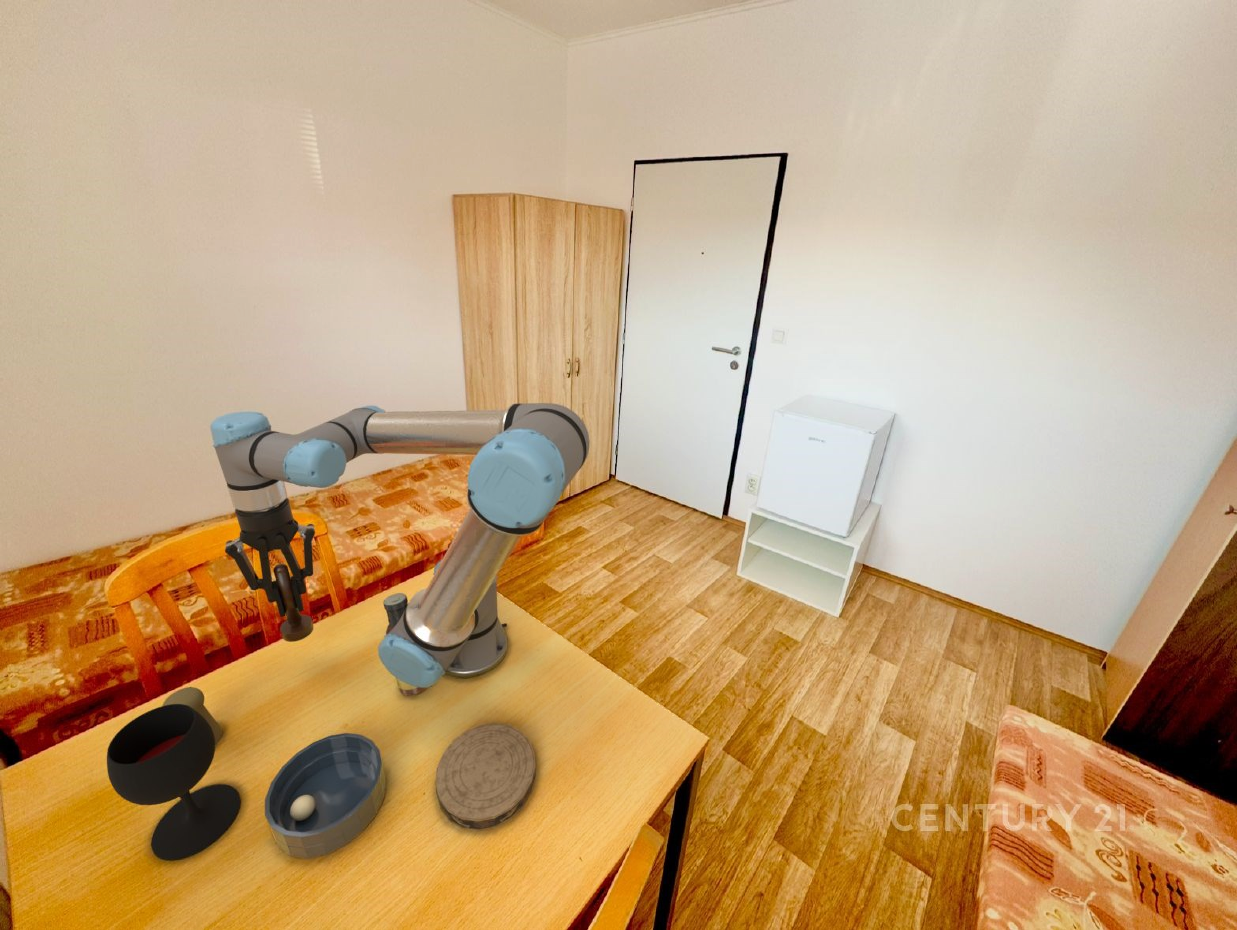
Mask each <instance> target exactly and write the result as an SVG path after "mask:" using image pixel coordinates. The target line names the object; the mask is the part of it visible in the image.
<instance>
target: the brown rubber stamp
mask: <svg viewBox="0 0 1237 930" xmlns="http://www.w3.org/2000/svg"><path fill="white" fill-rule="evenodd" d="M272 571H273V575H274V578H275V580H276V582H277V585H278V588H279V592H280V595H281V599H282V602H283V606H284V609H285V617H286V620H285V621H284V622H282V623H281V625H280V626H279V627H280V628H279V630H280V634H281V637H282V640H284V642H289V643H293V642H294V643H295V642H299V641H301V640H303V639H306V638H307V637H309V636H310V635H311V634H312V633H313V631H314V628H315V627H314V622H313V619H312V617H311V616H310V615H308V614H301V612H299V611H298V607H297V603H296V600H295V596H294V593H293V589H292V585H291V574H290V573H291V572H290V569H289V566H288V564H286V563H277V564H276V565H274V567H273V570H272Z"/></svg>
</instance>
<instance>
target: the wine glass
mask: <svg viewBox="0 0 1237 930" xmlns="http://www.w3.org/2000/svg"><path fill="white" fill-rule="evenodd" d="M215 753H216V745H215V737H214V733H213V730H212V728H211V726H210V725H209V723H208V722H207V720H206V719H205V718H204V717H203V716H202V715H201V714H200V713H198V712H197V711H196V710H194V709H193V708H192V707H190V706H188V705H184V704H170V705H165V706H159V707H155V708H153V709H150V710H148V711H146V712H144V713H142V714H140V715H138V716H136V717H135V718H134V719H132V720H131V721H129V722H128V723H126V724H125V725H124V726H123V727H122V728H121V729H120V730H119V731H118V732H117V733H116V734H115V735H114V737H113V738H112V739H111V741H110V743H109V744H108V747H107V751H106V768H107V776H108V779H109V782H110V784H111V786H112V788H113V790H114V791H115V792H116V793H117V794H118V795H119V797H121V798H122V799H124V801H127V802H129V803H131V804H134V805H139V806H156V805H161V804H165V803H168V802H171V801H174V800H176V799H178V798H179V799H180V800H179V801H178V802H176V803H175V804H173V805H172V806H171V807H170V808H169V809H168V810H167V812H166V813H165V814H164V815H163V816H162V817H161V818H160V820H159V821H158V823H157V825H156V827H155V828H154V830H153V832H152V836H151V841H150V846H151V850H152V852H153V854H154V855H155V856H156V858H158V859H160V860H162V861H166V862H167V861H169V862H171V861H172V862H175V861H180V860H184V859H188V858H190V857H192V856H195V855H197V854H199V853H201V852H203V851H205V850H206V849H208V848H209V847H211V846H212V845H213V844H214V843H215V842H217V841H218V840H219V839H220V838H221V837H222V836H223V835H224V834H225V833H226V832H227V831H228V830H229V829H230V828H231V826H232V824H233V823H234V822H235V820H236V819H237V817H238V815H239V812H240V808H241V804H242V803H241V802H242V801H241V795H240V793H239V792H238V790H237V789H236V788H235V787H234V786H232V785H230V784H225V783H218V784H217V783H216V784H211V785H206V786H204V787H201V788H199V789H196V790H194V791H193V792H191V790H192V789H193V788H194V787H195V786H196V785H198V783H199V782H200V781H201V780H202V779H203V778H204V776H205V775H206V774H207V772H208V770H209V769H210V767H211V765H212V763H213V760H214V757H215Z"/></svg>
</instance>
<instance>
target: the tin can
mask: <svg viewBox="0 0 1237 930" xmlns="http://www.w3.org/2000/svg"><path fill="white" fill-rule="evenodd" d="M535 757H536V756H535V749H534V748H533V746H532V744H531V741H530V739H529V738H528V737H527V735H525V734H524V733H523V732H522V731H521V730H520V729H518V728H517V727H515V726H512V725H510V724H508V723H499V722H489V723H483V724H478V725H476V726H473V727H471V728H469V729H467V730H465V731H464V732H462V733H461V734H460V735H459V736H457V737H456V738H455V739H453V740H452V742H451V743H450V744H449V745H448V746H447V748H446V749H445V750H444V752H442V755H441V757H440V760H439V762H438V764H437V767H436V772H435V773H436V774H435V784H434V785H435V791H436V798H437V800H438V805H439V809H440V810H441V812H442V814H444V816H445V817H446V819H447V820H448V821H449V822H450V823H452V824H454V825H455V826H457V827H459V828H461V829H463V830H470V831H478V832H480V831H484V830H489V829H494V828H497V827H499V826H500V825H502V824H504V823H506V822H508V821H510V820H511V819H513V818H514V817H515V816H516V815H517V813H518V812H519V811H521V810H522V809H523V808H524V807H525V805H526V803H527V801H528V799H529V797H530V796H531V794H532V792H533V788H534V784H535V781H536V758H535Z"/></svg>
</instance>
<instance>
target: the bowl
mask: <svg viewBox="0 0 1237 930" xmlns="http://www.w3.org/2000/svg"><path fill="white" fill-rule="evenodd" d="M269 784H270V785H269V787H268V790H267V793H266V795H265V798H264V816H265V817H264V818H265V819H266V821H267V824H268V826H269V829H270V832H271V835H272V837H273V839H274V840H275V841H274V842H275V843H276V844H277V846H278V849H279V850H281V852H283V853H285V854H287V855H289V856H291V857H294V858H303V859H312V858H317V857H322V856H326V855H329V854H331V853H333V852H335V851H338V850H339V849H341V848H344V847H345V846H347V845H348V844H350V842H351V841H353V840H354V839H356V837H358V836H359V835H360V834H362V832H364V831H365V829H367V827H368V826H369V824H370V823H371V822H372V821H373V820H374V818H375V817H376V815H377V814H378V811H379V810H380V807H381V805H382V803H383V802H384V799H385V794H386V788H387V781H386V774H385V770H384V765H383V760H382V755H381V751H380V749H379V747H378V746H377V745H376V743H375V742H374V740H372V739H371V738H369V737H366V736H364V735H362V734H359V733H350V732H344V733H338V734H331V735H328V736H326V737H323V738H320V739H318V740H316V741H313V742H312V743H310V744H308V745H306V747H303V748H302V749H301V750H299V751H297V752H296V753H295V754H294V755H293V756H292V757H291V758H290V759H289V760H287V762H286V763H285V764H283V765H282V766H281V768H279V770H278V772H277V773H276V774H275V777H274V778H273V779H272V781H271V782H270V783H269ZM303 795H310V796H312V797H313V798H314V800H315V808H314V811H313V812H312V814H311V815H310V816H309V817H308V818H306V819H304V820H301V821H296V820H294V819H293V818H292V817H291V815H290V809H291V806H292V804H293V802H294V801H295V800H296V799H297V798H299V797H300V796H303Z"/></svg>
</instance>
